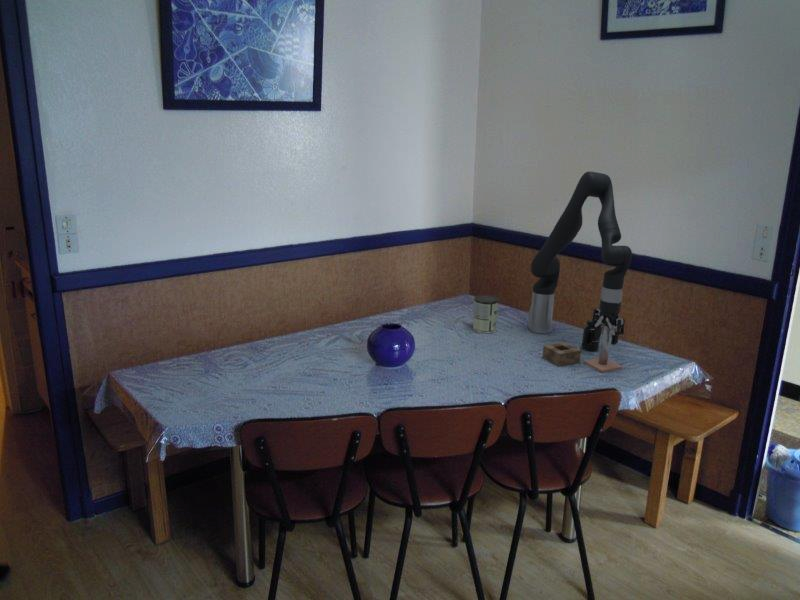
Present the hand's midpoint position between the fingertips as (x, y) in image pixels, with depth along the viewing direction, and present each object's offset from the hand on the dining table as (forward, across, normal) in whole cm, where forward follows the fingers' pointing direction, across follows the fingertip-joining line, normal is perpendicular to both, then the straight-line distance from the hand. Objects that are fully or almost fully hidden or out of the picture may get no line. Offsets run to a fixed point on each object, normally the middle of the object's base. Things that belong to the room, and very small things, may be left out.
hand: (605, 340), depth 258 cm
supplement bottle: (+11, -16, +8) cm, 21 cm away
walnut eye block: (+10, -11, -11) cm, 19 cm away
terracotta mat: (+10, 0, 0) cm, 10 cm away
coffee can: (+11, -52, -19) cm, 56 cm away
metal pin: (+9, 0, 0) cm, 9 cm away
